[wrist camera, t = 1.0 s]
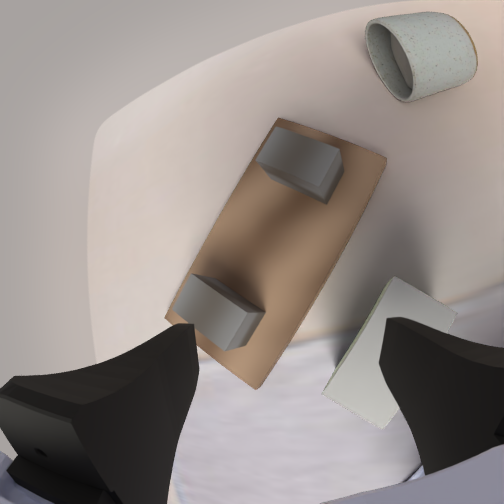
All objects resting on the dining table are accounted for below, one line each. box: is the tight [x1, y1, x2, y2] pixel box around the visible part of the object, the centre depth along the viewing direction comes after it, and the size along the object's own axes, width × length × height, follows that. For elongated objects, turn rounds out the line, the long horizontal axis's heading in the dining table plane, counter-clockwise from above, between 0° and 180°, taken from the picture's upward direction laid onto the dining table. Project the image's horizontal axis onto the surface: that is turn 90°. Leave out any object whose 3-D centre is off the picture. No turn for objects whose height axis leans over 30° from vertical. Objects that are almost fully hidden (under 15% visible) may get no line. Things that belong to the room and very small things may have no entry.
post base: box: [164, 118, 387, 390], centre depth 21 cm, size 10×20×4 cm, turn 148°
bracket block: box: [322, 276, 457, 430], centre depth 16 cm, size 4×7×7 cm, turn 148°
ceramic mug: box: [365, 12, 478, 102], centre depth 18 cm, size 11×8×8 cm
